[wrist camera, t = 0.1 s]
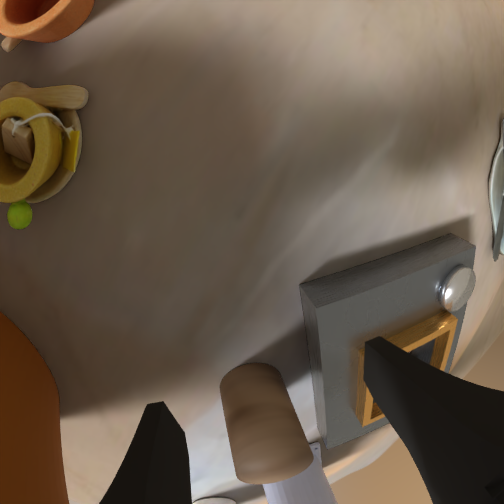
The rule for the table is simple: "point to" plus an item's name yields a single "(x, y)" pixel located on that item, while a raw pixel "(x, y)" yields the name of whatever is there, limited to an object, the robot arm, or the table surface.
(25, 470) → the flower pot
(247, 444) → the walnut peg
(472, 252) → the gray peg socket base
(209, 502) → the can
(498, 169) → the salad plate
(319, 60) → the table surface
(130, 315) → the table surface
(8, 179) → the toy tea set
